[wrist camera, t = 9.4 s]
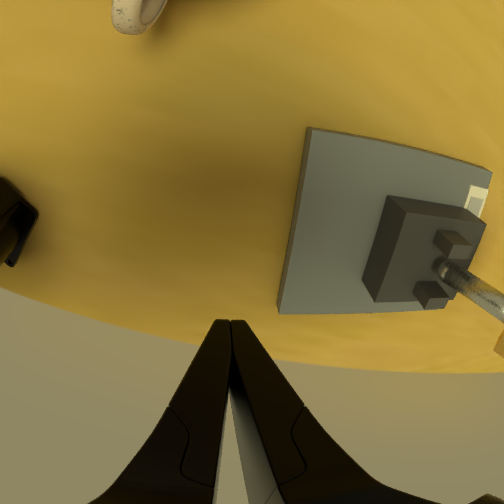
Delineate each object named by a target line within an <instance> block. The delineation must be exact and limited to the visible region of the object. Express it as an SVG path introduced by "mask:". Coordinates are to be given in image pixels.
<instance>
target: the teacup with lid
mask: <svg viewBox="0 0 504 504" xmlns="http://www.w3.org/2000/svg"><path fill="white" fill-rule="evenodd" d="M166 3H167V0H113V2H112V23H113V25H114V27H115V29H116V30H117V31H119V32H120V33H124V34H129V35H139V34H142V33H144V32H146V31H147V30H148V29H149V28H150V27H151V26H152V25H153V24H154V23H155V22H156V20H157V19H158V18H159V16H160V14H161V13H162V11H163V9H164V7H165V5H166Z"/></svg>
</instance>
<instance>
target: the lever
mask: <svg viewBox="0 0 504 504" xmlns="http://www.w3.org/2000/svg"><path fill="white" fill-rule="evenodd" d="M438 277H439V279H440V280H441V281H442V282H444V283H445V284H447V285H448V286H450V287H451V288H453V289H454V290H456V291H457V292H459V293H460V294H462V295H463V296H465V297H466V298H468V299H469V300H471V301H472V302H474V303H475V304H477V305H478V306H480V307H481V308H483V309H484V310H486V311H487V312H488V313H490V314H491V315H493V316H494V317H496V318H497V319H498V320H500V321H501V322H503V323H504V294H503V293H501V292H500V291H498V290H497V289H495V288H494V287H492V286H491V285H489V284H488V283H486V282H484V281H483V280H481V279H480V278H478V277H477V276H475V275H474V274H472V273H470V272H469V271H467V270H466V269H464V268H462V267H461V266H459V265H458V264H456V263H454V262H453V261H444V262H442V263H441V264H440V266H439V268H438ZM493 350H494V351H495V352H496V353H498V354H499V355H500V356H502V357H503V358H504V330H503V332H502V333H501V335H500V336H499V338H498V341H497V343H496V345H495V347H494V349H493Z"/></svg>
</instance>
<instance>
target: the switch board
mask: <svg viewBox="0 0 504 504" xmlns="http://www.w3.org/2000/svg"><path fill="white" fill-rule="evenodd" d="M492 173H493V172H491V171H489V170H487V169H486V168H484V167H481V166H478V165H475V164H471V163H468V162H465V161H462V160H459V159H455V158H452V157H448V156H445V155H441V154H438V153H434V152H430V151H427V150H423V149H419V148H415V147H411V146H407V145H402V144H398V143H394V142H389V141H385V140H380V139H375V138H370V137H365V136H360V135H355V134H349V133H344V132H338V131H332V130H326V129H319V128H312V127H307V133H306V139H305V146H304V152H303V159H302V165H301V171H300V177H299V183H298V189H297V195H296V201H295V207H294V213H293V219H292V225H291V230H290V236H289V241H288V247H287V252H286V258H285V263H284V269H283V274H282V279H281V285H280V290H279V295H278V300H277V308H278V312H279V314H351V313H382V312H403V311H421V310H436V309H443V308H445V306H446V304H447V302H448V300H453V299H454V297H455V295H456V293H457V291H456V290H454V289H453V288H451V287H450V286H448V285H447V284H445V283H444V282H442V281H441V280H440V279H439V277H438V268H439V266H440V264H441V263H442V262H444V261H453V262H454V263H456V264H458V265H459V266H461V267H462V268H464V269H466V270H468V268H469V266H470V263H471V261H472V259H473V257H474V254H475V252H476V250H477V247H478V245H479V242H480V240H481V237H482V235H483V232H484V230H485V227H486V223H484V222H483V221H482V220H481V219H479V218H480V215H481V212H482V209H483V206H484V203H485V200H486V197H487V194H488V191H489V190H488V187H489V183H490V180H491V177H492Z"/></svg>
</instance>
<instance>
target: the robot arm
mask: <svg viewBox="0 0 504 504" xmlns="http://www.w3.org/2000/svg"><path fill="white" fill-rule="evenodd" d="M31 214H32V215H33V217H32V216H31ZM37 218H38V213H37V211H36V210H35V209H34V208H33V207H32V206H31V205H29V204H28V203H27V202H26V201H25V200H24V199H23V198H21V197H20V196H19V195H18V194H17V193H16V192H15V191H14V190H12V189H11V188H10V187H9V186H8V185H7V184H6V183H5V182H4V181H3V180H2V179H0V265H1V264H2V263H3V262H5V263H6V264H7V265H8V266H10V267H14V265H15V264H16V263H17V260H18V258H19V256H20V254H21V251H22V249H23V247H24V245H25V243H26V241H27V238H28V236H29V234H30V232H31V230H32V228H33V226H34V224H35V222H36V220H37ZM11 261H12V262H11ZM228 394H230V402H231V408H232V414H233V420H234V426H235V431H236V437H237V443H238V448H239V454H240V459H241V464H242V470H243V475H244V480H245V486H246V490H247V495H248V501H249V504H440V503H436V502H433V501H430V500H426V499H423V498H420V497H417V496H414V495H411V494H408V493H405V492H402V491H399V490H396V489H393V488H391V487H388V486H386V485H384V484H382V483H380V482H379V481H377V480H375V479H374V478H372V477H371V476H370V475H369V474H368V473H367V472H366V471H365V470H364V469H363V468H362V467H360V466H359V465H358V464H357V463H356V462H355V461H354V460H353V459H352V458H351V457H350V456H349V455H348V454H347V453H346V452H345V451H344V450H343V449H342V448H341V447H340V446H339V445H338V444H337V443H336V442H335V441H334V440H333V439H332V438H331V436H330V435H329V434H328V433H327V432H326V431H325V430H324V429H323V427H322V426H321V425H320V424H319V423H318V422H317V420H316V419H315V418H314V416H313V415H312V414H311V412H310V411H309V409H308V408H307V407H306V406H304V403H303V402H302V400H301V399H300V398H299V396H298V395H297V393H296V392H295V391H294V389H293V388H292V386H291V385H290V384H289V382H288V381H287V379H286V378H285V377H284V375H283V374H282V372H281V371H280V370H279V368H278V367H277V365H276V364H275V363H274V361H273V360H272V358H271V357H270V356H269V354H268V353H267V351H266V350H265V348H264V347H263V346H262V344H261V343H260V341H259V340H258V338H257V337H256V335H255V334H254V333H253V331H252V330H251V328H250V327H249V325H248V324H247V322H246V321H245V320H231V321H229V320H227V319H216V320H215V321H214V322H213V324H212V326H211V328H210V330H209V331H208V333H207V335H206V337H205V339H204V341H203V342H202V344H201V346H200V348H199V350H198V352H197V353H196V355H195V357H194V359H193V361H192V362H191V364H190V366H189V368H188V370H187V372H186V373H185V375H184V377H183V379H182V381H181V383H180V384H179V386H178V388H177V390H176V392H175V394H174V395H173V397H172V399H171V401H170V403H169V407H167V408H166V410H165V411H164V413H163V415H162V417H161V419H160V420H159V422H158V424H157V425H156V427H155V429H154V430H153V432H152V433H151V435H150V436H149V438H148V439H147V440H146V442H145V443H144V445H143V446H142V447H141V449H140V450H139V451H138V453H137V454H136V455H135V456H134V458H133V459H132V460H131V462H130V463H129V464H128V465H127V467H126V468H125V469H124V471H123V472H122V473H121V474H120V476H119V477H118V478H117V479H116V481H115V482H114V483H113V484H112V485H111V486H110V487H109V488H108V489H107V490H106V491H105V492H104V493H103V494H102V495H100V496H99V497H97V498H96V499H94V500H93V501H91V502H89V503H88V504H216V499H217V490H218V481H219V472H220V463H221V454H222V445H223V438H224V429H225V420H226V412H227V403H228ZM469 504H504V501H503V500H501V499H500V498H498V497H495V496H493V495H490V494H485V495H483V496H481V497H480V498H478V499H476V500H474V501H473V502H471V503H469Z"/></svg>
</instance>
